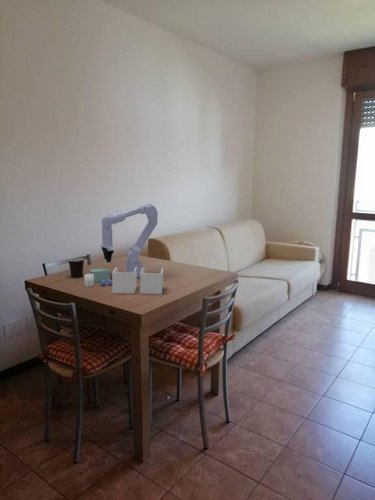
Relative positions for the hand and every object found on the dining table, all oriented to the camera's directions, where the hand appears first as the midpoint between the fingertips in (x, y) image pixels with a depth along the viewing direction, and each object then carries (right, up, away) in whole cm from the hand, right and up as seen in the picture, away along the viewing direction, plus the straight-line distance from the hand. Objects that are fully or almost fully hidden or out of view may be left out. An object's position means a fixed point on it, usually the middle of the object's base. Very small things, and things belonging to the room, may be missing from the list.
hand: (107, 260), depth 213 cm
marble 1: (+1, -13, -13) cm, 19 cm away
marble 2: (+4, -13, -12) cm, 18 cm away
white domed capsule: (-7, -13, -14) cm, 20 cm away
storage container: (+20, -15, -19) cm, 32 cm away
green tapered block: (-3, -11, -4) cm, 12 cm away
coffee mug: (-18, -9, +4) cm, 21 cm away
